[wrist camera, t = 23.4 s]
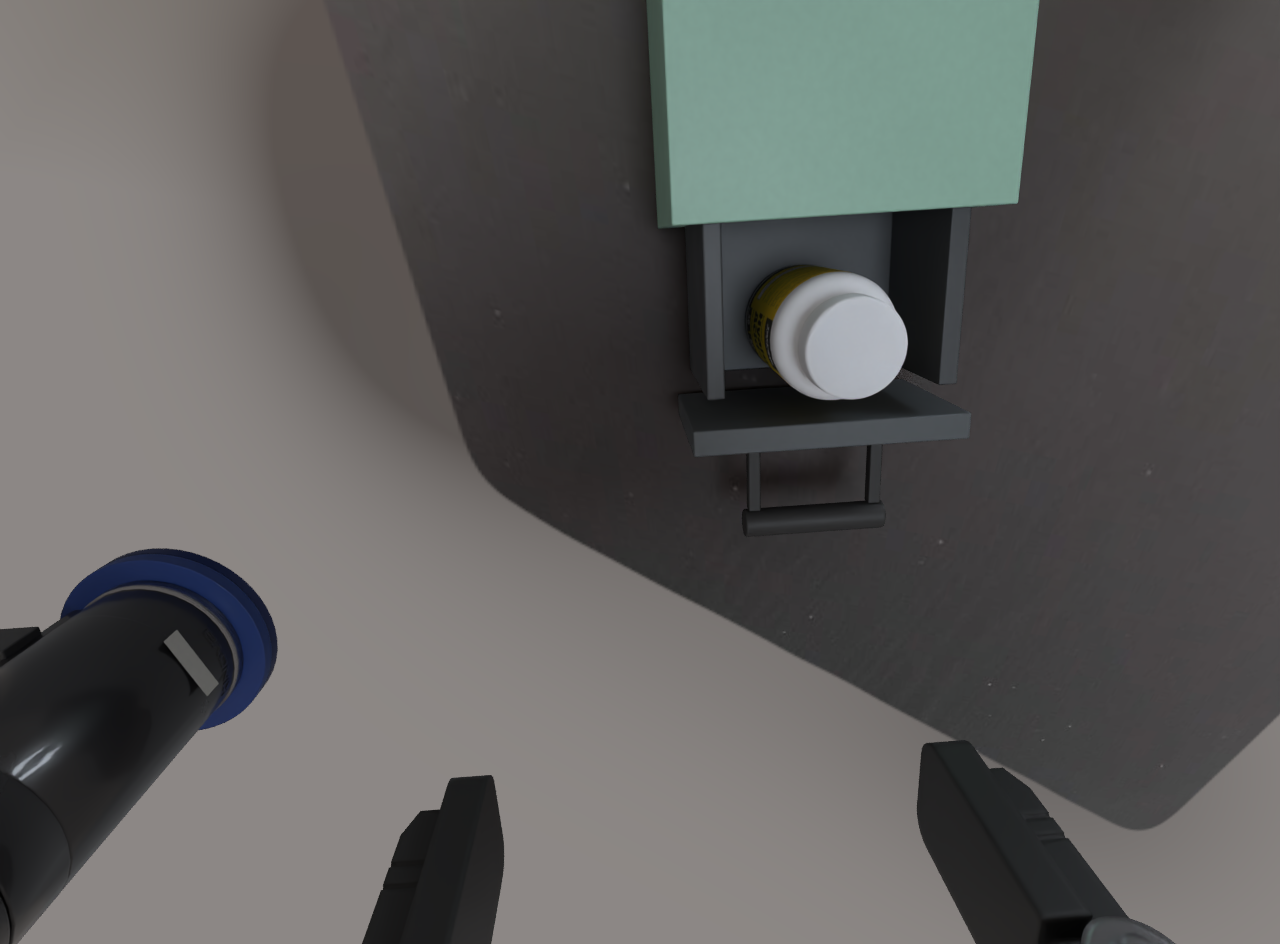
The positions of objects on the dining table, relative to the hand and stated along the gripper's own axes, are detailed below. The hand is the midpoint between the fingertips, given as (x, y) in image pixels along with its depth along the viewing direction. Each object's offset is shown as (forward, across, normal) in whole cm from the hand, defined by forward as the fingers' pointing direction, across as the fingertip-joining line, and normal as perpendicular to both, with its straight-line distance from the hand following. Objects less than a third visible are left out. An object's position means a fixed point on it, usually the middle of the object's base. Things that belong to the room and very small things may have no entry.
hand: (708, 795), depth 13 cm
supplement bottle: (+26, -8, -5) cm, 28 cm away
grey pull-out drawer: (+27, -8, -5) cm, 29 cm away
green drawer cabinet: (+28, -8, -18) cm, 34 cm away
